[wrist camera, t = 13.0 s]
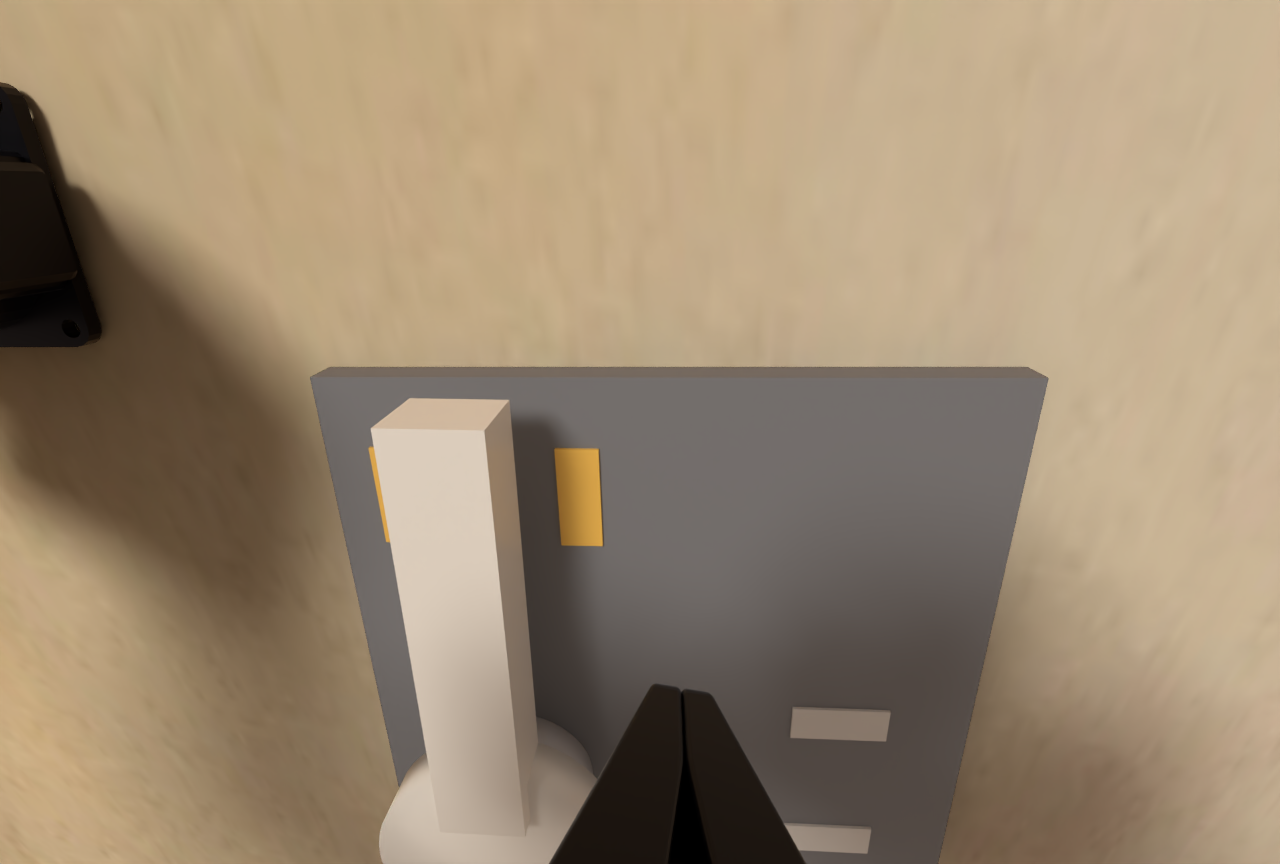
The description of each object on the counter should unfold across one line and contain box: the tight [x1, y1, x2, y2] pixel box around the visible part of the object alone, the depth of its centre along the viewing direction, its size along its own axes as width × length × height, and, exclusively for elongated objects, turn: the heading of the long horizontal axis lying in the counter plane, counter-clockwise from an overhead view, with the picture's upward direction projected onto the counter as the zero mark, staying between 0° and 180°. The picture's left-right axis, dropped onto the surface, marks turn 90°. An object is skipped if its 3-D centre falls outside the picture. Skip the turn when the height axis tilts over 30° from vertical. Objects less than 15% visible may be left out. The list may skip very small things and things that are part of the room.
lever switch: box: [371, 398, 597, 864], centre depth 17 cm, size 18×7×2 cm, turn 0°
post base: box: [310, 367, 1048, 864], centre depth 19 cm, size 19×19×2 cm
